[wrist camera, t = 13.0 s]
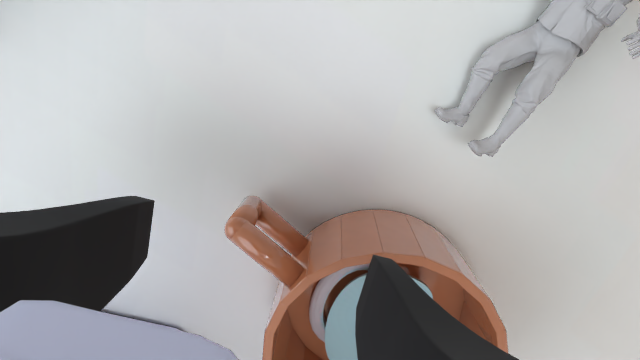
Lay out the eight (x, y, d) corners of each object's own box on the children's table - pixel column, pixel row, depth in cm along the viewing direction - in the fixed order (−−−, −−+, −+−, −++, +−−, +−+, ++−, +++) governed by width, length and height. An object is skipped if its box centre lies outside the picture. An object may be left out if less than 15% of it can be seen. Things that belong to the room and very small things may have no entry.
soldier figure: (396, 78, 20) (583, -199, 14) (445, 92, 24) (617, -130, 17) (497, 182, 16) (833, -143, 10) (541, 182, 19) (817, -65, 13)
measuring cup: (508, 295, 23) (560, 363, 17) (374, 403, 25) (383, 491, 20) (316, 117, 20) (308, 133, 15) (190, 257, 23) (145, 312, 18)
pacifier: (292, 326, 24) (379, 366, 24) (272, 412, 17) (389, 464, 18) (344, 228, 22) (438, 272, 22) (342, 286, 16) (472, 346, 16)
